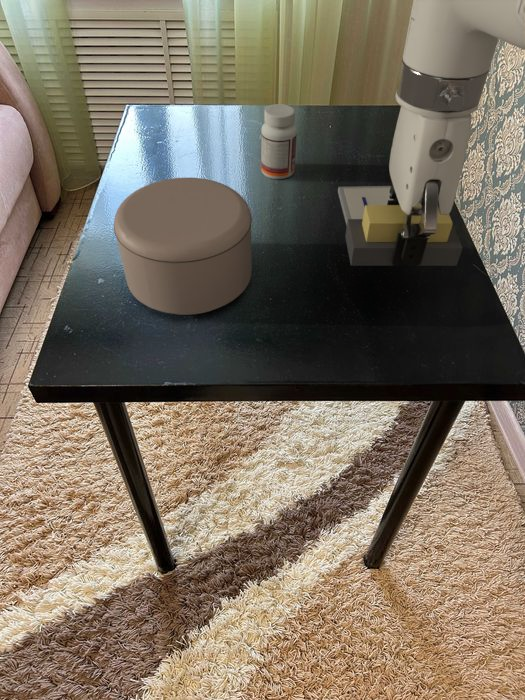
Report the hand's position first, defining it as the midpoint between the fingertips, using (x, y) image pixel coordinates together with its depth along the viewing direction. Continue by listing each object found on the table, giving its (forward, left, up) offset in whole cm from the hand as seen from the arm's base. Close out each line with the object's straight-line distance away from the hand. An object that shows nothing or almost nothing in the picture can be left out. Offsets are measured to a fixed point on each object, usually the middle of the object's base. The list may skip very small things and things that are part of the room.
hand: (400, 245), depth 62 cm
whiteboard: (+4, -25, -13) cm, 28 cm away
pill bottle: (+25, -34, -14) cm, 44 cm away
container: (+28, -1, -14) cm, 31 cm away
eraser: (0, 0, -1) cm, 1 cm away
